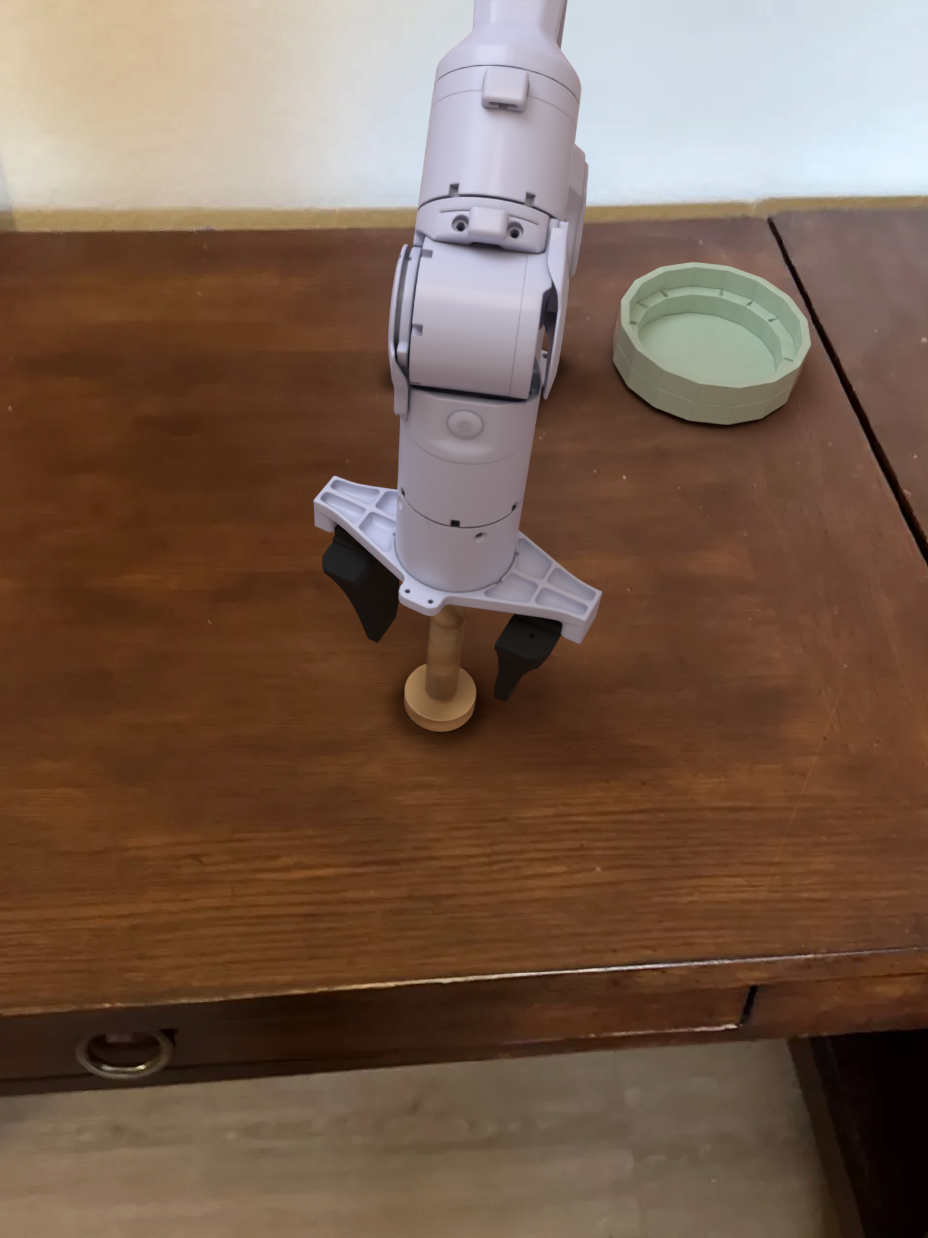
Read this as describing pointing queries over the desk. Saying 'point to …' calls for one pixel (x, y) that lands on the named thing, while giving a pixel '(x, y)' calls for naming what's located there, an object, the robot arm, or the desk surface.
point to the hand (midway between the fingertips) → (443, 656)
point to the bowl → (710, 342)
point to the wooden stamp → (442, 677)
